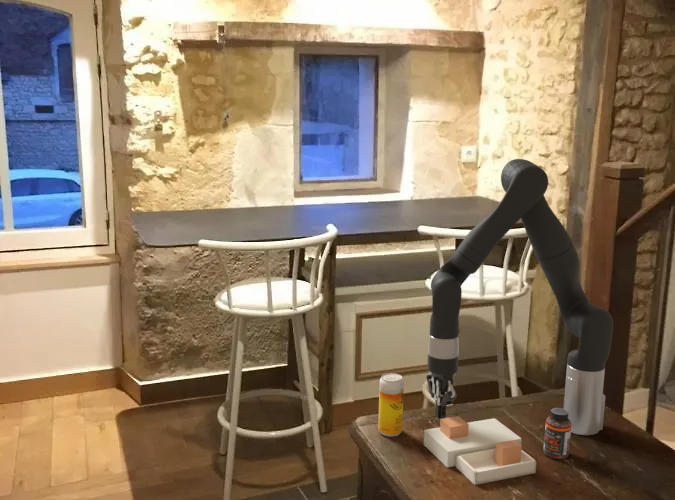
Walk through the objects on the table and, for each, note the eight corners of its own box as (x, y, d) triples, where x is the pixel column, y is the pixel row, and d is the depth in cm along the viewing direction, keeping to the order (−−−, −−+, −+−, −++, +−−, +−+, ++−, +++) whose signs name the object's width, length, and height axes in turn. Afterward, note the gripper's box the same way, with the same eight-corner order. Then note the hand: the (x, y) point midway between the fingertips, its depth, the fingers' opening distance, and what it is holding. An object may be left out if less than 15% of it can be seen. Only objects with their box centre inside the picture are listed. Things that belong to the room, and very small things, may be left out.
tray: (514, 456, 180) (515, 444, 180) (535, 472, 172) (536, 461, 172) (455, 467, 175) (456, 455, 174) (474, 484, 167) (475, 472, 166)
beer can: (400, 438, 188) (402, 382, 185) (376, 436, 190) (378, 380, 186) (403, 428, 194) (405, 373, 191) (380, 425, 195) (381, 371, 192)
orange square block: (457, 427, 186) (458, 416, 186) (468, 435, 182) (468, 424, 181) (439, 430, 184) (440, 418, 184) (449, 439, 180) (450, 427, 179)
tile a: (514, 439, 176) (521, 445, 174) (513, 459, 177) (520, 465, 175) (496, 442, 175) (502, 448, 172) (494, 462, 176) (501, 468, 173)
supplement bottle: (539, 455, 181) (542, 411, 178) (548, 446, 185) (552, 403, 183) (563, 462, 177) (567, 418, 175) (572, 453, 182) (576, 410, 180)
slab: (493, 432, 192) (494, 418, 191) (520, 453, 181) (521, 438, 181) (423, 444, 185) (424, 429, 185) (447, 467, 174) (447, 451, 174)
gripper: (470, 359, 181) (466, 426, 185) (444, 342, 193) (441, 405, 197) (442, 363, 178) (439, 430, 182) (417, 345, 190) (415, 409, 194)
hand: (440, 417), depth 189 cm, fingers closed
